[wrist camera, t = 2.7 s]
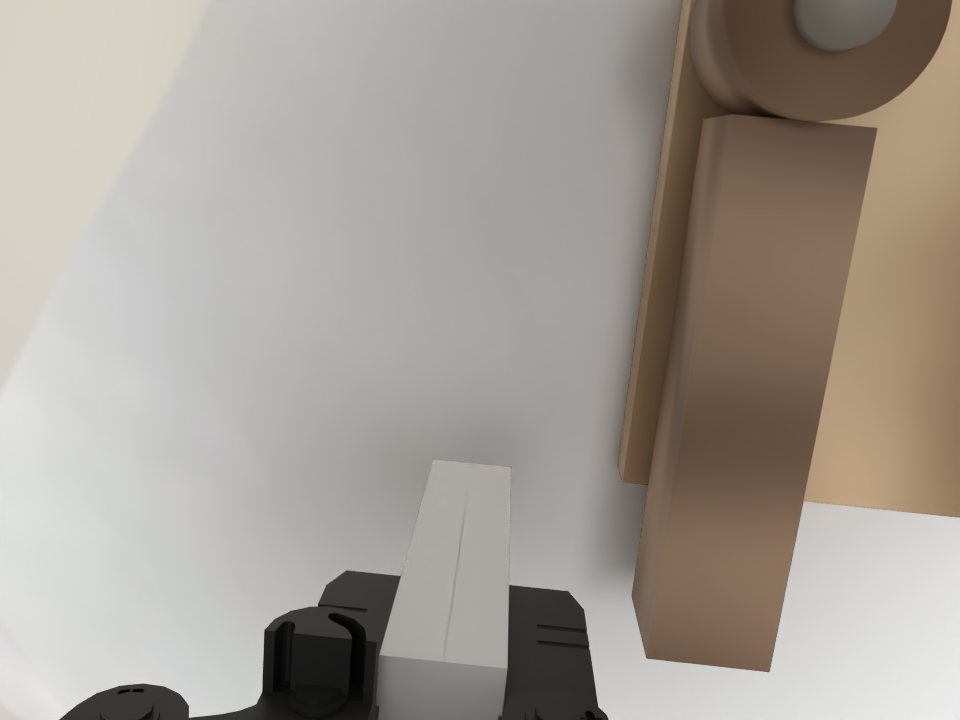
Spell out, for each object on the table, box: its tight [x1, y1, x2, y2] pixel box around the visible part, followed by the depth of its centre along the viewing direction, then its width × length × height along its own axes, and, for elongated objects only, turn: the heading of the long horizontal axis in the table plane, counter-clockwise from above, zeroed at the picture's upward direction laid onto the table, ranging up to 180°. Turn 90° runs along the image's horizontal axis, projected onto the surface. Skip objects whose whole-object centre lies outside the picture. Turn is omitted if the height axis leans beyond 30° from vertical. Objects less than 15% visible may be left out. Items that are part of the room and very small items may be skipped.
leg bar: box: [632, 0, 952, 672], centre depth 18 cm, size 16×4×4 cm, turn 174°
